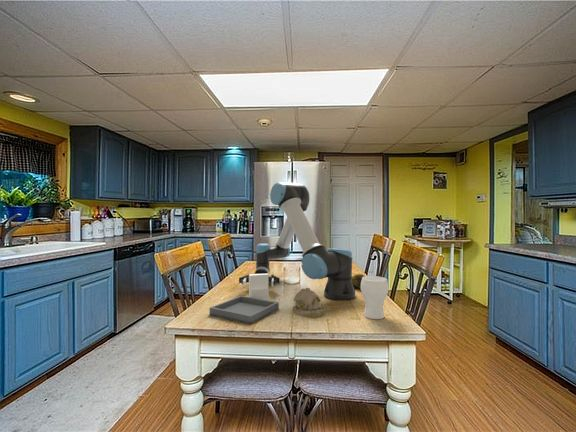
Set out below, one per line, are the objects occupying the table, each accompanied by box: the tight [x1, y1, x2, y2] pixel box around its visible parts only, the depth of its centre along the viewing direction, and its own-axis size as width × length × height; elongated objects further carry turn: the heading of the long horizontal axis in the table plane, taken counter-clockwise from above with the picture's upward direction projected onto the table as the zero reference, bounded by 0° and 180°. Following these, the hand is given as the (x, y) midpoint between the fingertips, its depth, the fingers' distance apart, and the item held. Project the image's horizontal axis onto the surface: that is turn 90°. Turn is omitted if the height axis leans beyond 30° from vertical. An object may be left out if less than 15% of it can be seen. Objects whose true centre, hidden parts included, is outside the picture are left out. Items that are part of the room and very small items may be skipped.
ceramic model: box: [292, 287, 324, 318], centre depth 130 cm, size 14×11×10 cm
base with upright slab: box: [248, 273, 269, 301], centre depth 146 cm, size 9×9×12 cm
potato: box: [352, 273, 365, 289], centre depth 171 cm, size 8×13×8 cm, turn 176°
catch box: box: [209, 295, 280, 325], centre depth 129 cm, size 20×20×3 cm
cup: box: [360, 275, 389, 320], centre depth 125 cm, size 11×11×15 cm
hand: (258, 284), depth 150 cm, fingers open, 13 cm apart
